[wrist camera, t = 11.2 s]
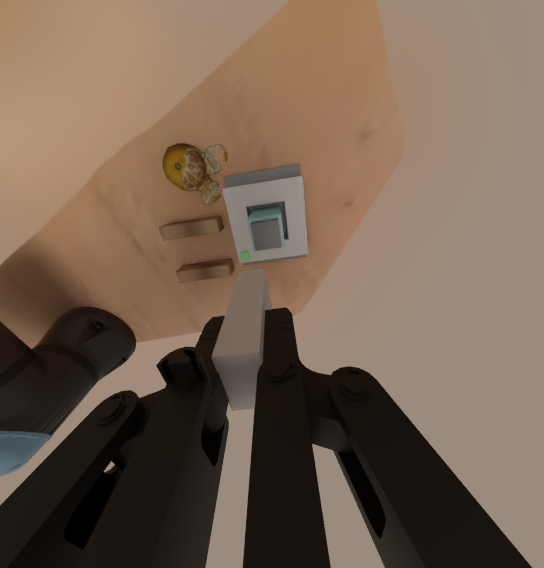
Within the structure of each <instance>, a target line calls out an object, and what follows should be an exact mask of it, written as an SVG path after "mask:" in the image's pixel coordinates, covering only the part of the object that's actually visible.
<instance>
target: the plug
mask: <svg viewBox="0 0 544 568" xmlns="http://www.w3.org/2000/svg"><path fill="white" fill-rule="evenodd" d="M247 221H248V226H249V231H250V236H251V241H252V247H253V252H255V251H262V250H270V249H277V248H284V247H285V243H284V234H283V226H282V218H281V211H280V207H279V205H275V206H269V207H262V208H256V209H253V211H252V212H251V214H250V216H249V217H248V219H247Z"/></svg>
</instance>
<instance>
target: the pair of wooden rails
mask: <svg viewBox="0 0 544 568" xmlns="http://www.w3.org/2000/svg"><path fill="white" fill-rule="evenodd" d="M223 228H224V226H223V222H222V218H221V216H214V217H208V218H201V219H195V220H188V221H182V222H175V223H169V224H166V225H163V226H161V227H159V231H160V233H161V236H162V238H163V241H164V240H171V239H178V238H184V237H191V236H198V235H205V234H212V233H218V232H221V231H222V229H223ZM233 270H234V266H233V262H232V259H225V260H218V261H210V262H203V263H196V264H188V265H183V266H182V267H181V268H180V269H179V270H177V271H176V274H177V276H178V279H179V281H180V283H181V282H189V281H196V280H204V279H211V278H219V277H227V276H231V275H232V273H233Z"/></svg>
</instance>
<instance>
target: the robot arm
mask: <svg viewBox="0 0 544 568" xmlns="http://www.w3.org/2000/svg"><path fill="white" fill-rule="evenodd" d="M135 347H136V341H135V337H134V335H133V333H132V331H131V330H130V328H129V327H128V326H127V325H126V324H125V323H124V322H123V321H121V320H120V319H119V318H117V317H116V316H114V315H112V314H110V313H108V312H106V311H103V310H100V309H96V308H90V307H80V308H75V309H72V310H70V311H68V312H67V313H65V314H64V315H62V316H61V317H59V318H58V319H57V320H56V321H55V322H54V324H53V325H52V326H51V328H50V329H49V330H48V331H47V333H46V334H45V335H44V337H43V338H42V339H41V341H40V342H39V343H38V344H37V345H36V346H35V347H34V348H33V349H30V348H29V347H28V346H27V345H26V344H25V343H24V342H23V341H22V340H21V339H19V338H18V337H17V336H16V335H15V334H14V333H13V332H12V331H11V330H9V329H8V328H7V327H6V326H5V325H4V324H3V323H2V322H1V321H0V476H2V475H6V474H9V473H12V472H14V471H16V470H17V469H19V468H21V467H22V466H23V465H25V464H26V463H27V462H28V461H29V460H30V459H31V458H32V457H33V456H34V455H35V454H36V453H37V451H38V450H39V449H40V448H41V447H42V446H43V445H44V444H45V443H46V442H47V441H49V440H50V439H51V438H52V435H53V434H54V433H55V431H56V430H57V429H58V428H59V427H60V426H61V424H62V423H63V422H64V421H65V420H66V418H67V417H68V416H69V415H70V414H71V412H72V411H73V410H74V409H75V408H76V407H77V405H78V404H79V403H80V402H81V401H82V399H83V398H84V397H85V396H86V395H87V394H88V392H89V391H90V390H91V389H92V387H94V385H95V384H96V383H97V382H98V381H99V380H100V379H102V378H103V377H105V376H106V375H107V374H109V373H111V372H112V371H113V370H115V369H116V368H118V367H119V366H121V365H122V364H124V363H125V362H126V361H127V360H128V359H129V357H130V356H131V355H132V354H133V352H134V350H135ZM157 368H158V369H159V371H160V373H161V375H162V377H163V378H164V380H165V382H166V384H167V385H166V387H165V388H164V389H162V390H160V391H157V392H155V393H152V394H149V395H147V396H144V397H141V398H139V397H138V396H137V394H136V393H135V392H132V391H131V390H128V391H121V392H119V393H116V394H113V395H112V396H110V397H108V398H107V399H105V400H104V401H103V402H101V403H100V404H99V405H98V406H97V407H96V408H95V409H94V410H93V411H92V412H91V413H90V414H89V415H88V416H87V417H86V418H85V419H84V420H83V421H82V422H81V423H80V424H79V425H78V426H77V427H76V428H75V429H74V430H73V431H72V432H71V433H70V434H69V435H68V436H67V437H66V438H65V439H64V440H63V441H62V442H61V443H60V445H59V446H58V447H57V448H56V449H55V450H54V451H53V452H52V453H51V454H50V455H49V456H48V457H47V458H46V459H45V460H44V461H43V462H42V463H41V464H40V465H39V466H38V467H37V468H36V469H35V470H34V471H33V472H32V473H31V475H29V476H28V478H26V480H25V481H24V482H23V483H22V484H21V485H20V486H19V487H18V488H17V489H16V490H15V491H14V492H13V493H12V494H11V495H10V496H9V497H8V498H7V499H6V500H5V501H4V502H3V503H2V504H1V505H0V568H205V566H206V560H207V554H208V548H209V542H210V536H211V530H212V524H213V519H214V513H215V507H216V500H217V495H218V488H219V483H220V477H221V471H222V465H223V459H224V452H225V447H226V441H227V435H228V429H229V421H228V419H227V416H226V412H227V407H228V402H229V405H230V407H231V410H232V411H233V410H242V409H253V408H255V412H254V425H253V438H252V452H251V466H250V478H249V479H250V480H249V492H248V505H247V519H246V532H245V533H246V534H245V546H244V559H243V568H331V567H330V560H329V554H328V547H327V541H326V534H325V527H324V521H323V514H322V508H321V502H320V494H319V488H318V481H317V474H316V467H315V461H314V454H313V448H312V444H315V445H318V446H321V447H324V448H328V449H331V450H333V451H334V453H335V456H336V458H337V460H338V462H339V464H340V467H341V469H342V471H343V474H344V476H345V478H346V480H347V483H348V485H349V487H350V490H351V492H352V494H353V496H354V498H355V501H356V503H357V505H358V508H359V510H360V512H361V514H362V517H363V519H364V521H365V523H366V526H367V528H368V530H369V532H370V535H371V537H372V539H373V542H374V544H375V546H376V548H377V551H378V553H379V555H380V557H381V560H382V562H383V564H384V566H385V568H532V567H531V566H530V565H529V563H528V562H527V561H526V560H525V559H524V557H523V556H522V555H521V554H520V553H519V551H518V550H517V549H516V548H515V547H514V545H513V544H512V543H511V542H510V540H509V539H508V538H507V537H506V536H505V535H504V533H503V532H502V531H501V530H500V528H499V527H498V526H497V525H496V523H495V522H494V521H493V520H492V519H491V517H490V516H489V515H488V514H487V513H486V512H485V510H484V509H483V508H482V507H481V505H480V504H479V503H478V502H477V501H476V499H475V498H474V497H473V496H472V495H471V493H470V492H469V491H468V490H467V488H466V487H465V486H464V485H463V484H462V482H461V481H460V480H459V479H458V478H457V476H456V475H455V474H454V473H453V472H452V471H451V469H450V468H449V467H448V466H447V464H446V463H445V462H444V461H443V460H442V458H441V457H440V456H439V455H438V454H437V453H436V451H435V450H434V449H433V448H432V446H431V445H430V444H429V443H428V441H427V440H426V439H425V438H424V437H423V435H422V434H421V433H420V432H419V431H418V429H417V428H416V427H415V426H414V425H413V423H412V422H411V421H410V420H409V418H408V417H407V416H406V415H405V414H404V413H403V411H402V410H401V409H400V408H399V406H398V405H397V404H396V403H395V402H394V400H393V399H392V398H391V397H390V396H389V394H388V393H387V392H386V391H385V389H384V388H383V387H382V386H381V385H380V383H379V382H378V381H377V380H376V379H375V378H374V377H373V376H372V375H370V374H369V373H368V372H366V371H364V370H362V369H360V368H355V367H350V366H349V367H343V368H339V369H337V370H336V371H334V372H333V373H332V375H326V374H321V373H317V372H314V371H311V370H309V369H308V368H306V367H305V366H304V365H303V364H302V363H301V361H300V360H299V356H298V352H297V345H296V338H295V332H294V325H293V318H292V313H291V312H290V311H289V310H288V309H287V308H278V309H272V305H271V300H270V294H269V288H268V283H267V277H266V271H265V268H262V269H254V270H247V271H240V273H239V276H238V279H237V282H236V285H235V288H234V291H233V294H232V297H231V300H230V303H229V306H228V309H227V312H226V315H225V316H219V317H212V318H211V319H210V320H209V321H208V323H207V324H206V325H205V327H204V329H203V331H202V334H201V335H200V338H199V341H198V342H197V344H196V347H195V348H194V347H183V348H179V349H177V350H175V351H173V352H170V353H169V354H168V355H166V356H165V357H164V358H162V359H161V361H160V362H159V363H158V364H157ZM111 461H112V462H113V463H114V464H115V465H114V467H112V469H110V470H109V471H107V472H104V470H105V469H106V467H107V466H108V465H109V463H110V462H111Z"/></svg>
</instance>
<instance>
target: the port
mask: <svg viewBox="0 0 544 568" xmlns="http://www.w3.org/2000/svg"><path fill="white" fill-rule="evenodd" d="M224 179H225V183H226V188H224V189H222V191H223V195H224V199H225V203H226V208H227V212H228V216H229V220H230V225H231V229H232V233H233V238H234V242H235V246H236V250H237V255H238V259H239V263H244V265H247V264H254V263H262V262H269V261H277V260H284V259H291V258H299V257H306V254H308V246H307V231H306V216H305V202H304V187H303V176H300V167H299V164H297V165H291V166H285V167H279V168H273V169H267V170H261V171H255V172H249V173H243V174H237V175H231V176H225V177H224ZM275 205H279V207H280V211H281V218H282V226H283V234H284V243H285V247H284V248H277V249H270V250H262V251H255V252H253V247H252V241H251V236H250V231H249V226H248V221H247V219H248V217H249V216H250V214H251V212H252V211H253V209H256V208H262V207H269V206H275Z"/></svg>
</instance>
